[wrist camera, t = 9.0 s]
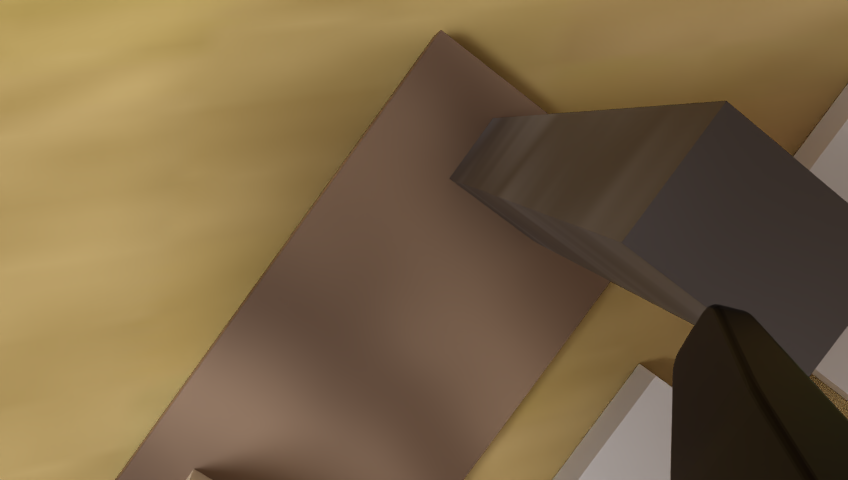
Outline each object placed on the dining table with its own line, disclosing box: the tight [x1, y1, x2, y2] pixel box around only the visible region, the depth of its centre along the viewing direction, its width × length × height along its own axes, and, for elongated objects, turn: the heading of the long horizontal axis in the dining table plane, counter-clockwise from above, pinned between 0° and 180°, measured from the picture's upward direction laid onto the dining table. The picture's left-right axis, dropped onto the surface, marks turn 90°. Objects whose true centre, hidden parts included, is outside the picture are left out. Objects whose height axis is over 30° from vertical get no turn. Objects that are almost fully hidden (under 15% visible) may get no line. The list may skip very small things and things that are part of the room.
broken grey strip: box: [553, 84, 848, 480], centre depth 24 cm, size 19×8×1 cm, turn 144°
